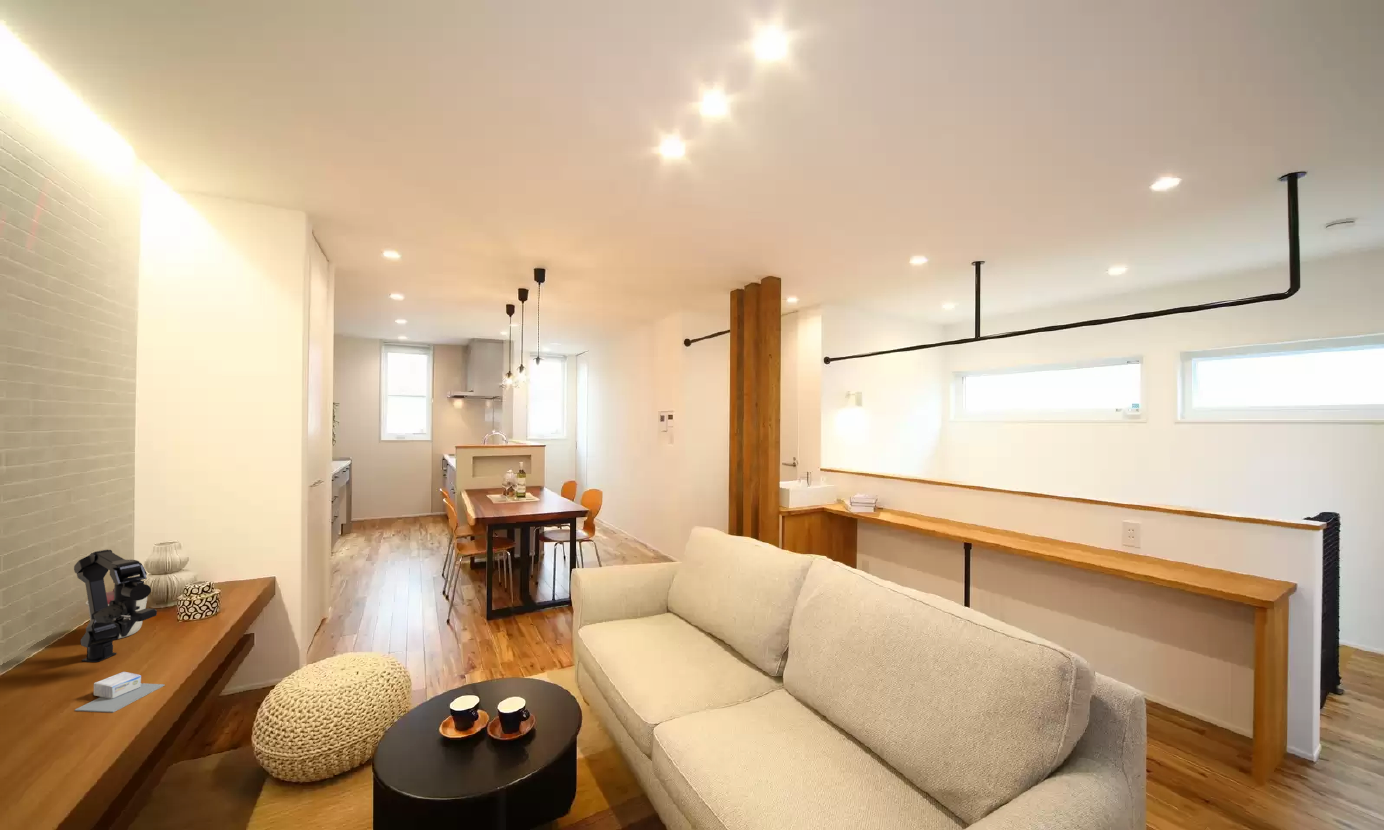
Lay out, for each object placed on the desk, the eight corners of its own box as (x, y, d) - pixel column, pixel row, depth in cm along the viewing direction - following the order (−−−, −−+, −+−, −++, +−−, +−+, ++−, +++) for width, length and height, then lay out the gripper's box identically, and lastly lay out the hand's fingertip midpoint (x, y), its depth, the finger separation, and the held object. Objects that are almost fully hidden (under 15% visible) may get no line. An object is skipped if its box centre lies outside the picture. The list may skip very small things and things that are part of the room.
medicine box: (92, 695, 171) (111, 699, 169) (93, 682, 171) (111, 686, 169) (123, 683, 178) (141, 687, 177) (123, 670, 178) (141, 674, 177)
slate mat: (74, 710, 163) (74, 709, 163) (129, 683, 179) (129, 682, 179) (112, 712, 163) (112, 711, 163) (164, 685, 179) (164, 684, 179)
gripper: (74, 602, 180) (72, 645, 181) (126, 604, 181) (124, 647, 181) (110, 591, 192) (108, 631, 192) (158, 593, 192) (157, 633, 192)
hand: (124, 636), depth 189 cm, fingers closed
